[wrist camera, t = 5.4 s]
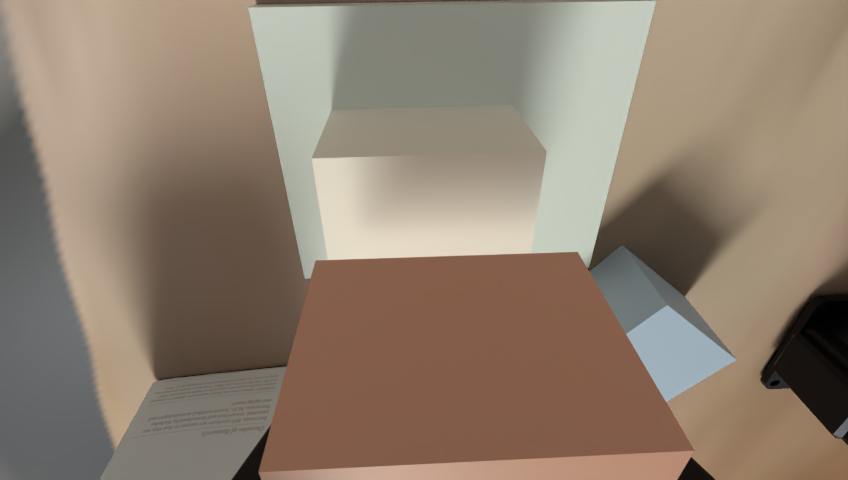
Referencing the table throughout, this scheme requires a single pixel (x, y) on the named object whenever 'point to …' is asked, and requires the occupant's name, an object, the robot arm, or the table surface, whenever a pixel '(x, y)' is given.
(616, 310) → the blue brick
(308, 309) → the terracotta brick
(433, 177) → the base brick
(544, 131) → the baseplate
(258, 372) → the supplement box
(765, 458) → the table surface
